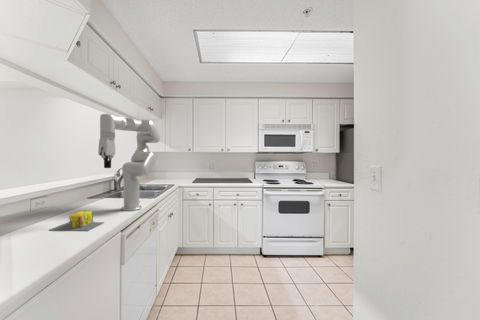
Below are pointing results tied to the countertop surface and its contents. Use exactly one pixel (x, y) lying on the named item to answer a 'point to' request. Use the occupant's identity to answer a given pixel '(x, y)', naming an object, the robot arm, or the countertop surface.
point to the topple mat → (85, 228)
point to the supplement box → (81, 219)
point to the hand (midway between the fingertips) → (107, 167)
